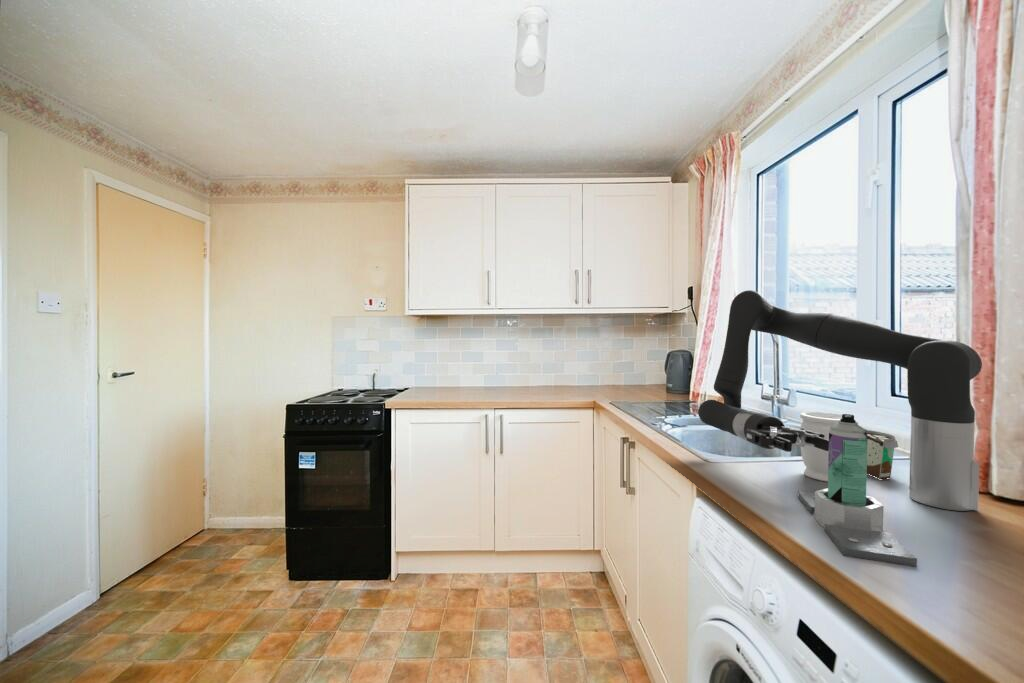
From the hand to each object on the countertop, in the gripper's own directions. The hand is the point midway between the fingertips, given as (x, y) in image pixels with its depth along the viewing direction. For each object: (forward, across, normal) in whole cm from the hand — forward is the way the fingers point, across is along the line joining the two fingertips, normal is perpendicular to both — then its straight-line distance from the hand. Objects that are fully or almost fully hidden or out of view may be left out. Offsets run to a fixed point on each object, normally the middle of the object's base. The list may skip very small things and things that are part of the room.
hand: (810, 446), depth 87 cm
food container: (-18, +32, +12) cm, 39 cm away
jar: (-16, +17, +12) cm, 27 cm away
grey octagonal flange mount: (+9, 0, +12) cm, 15 cm away
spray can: (+9, 0, +12) cm, 15 cm away
